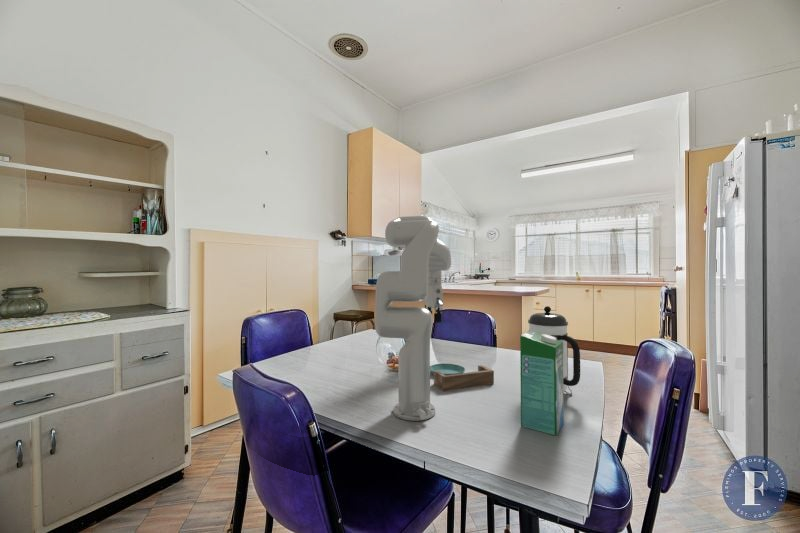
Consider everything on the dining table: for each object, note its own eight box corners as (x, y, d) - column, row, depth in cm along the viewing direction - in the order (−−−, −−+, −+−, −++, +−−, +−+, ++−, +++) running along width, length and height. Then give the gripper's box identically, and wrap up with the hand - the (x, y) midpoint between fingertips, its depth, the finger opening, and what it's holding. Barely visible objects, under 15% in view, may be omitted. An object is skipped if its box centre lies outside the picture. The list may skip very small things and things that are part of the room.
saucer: (472, 376, 134) (472, 370, 134) (443, 383, 126) (443, 376, 126) (450, 367, 146) (450, 361, 146) (422, 372, 139) (422, 366, 139)
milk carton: (556, 436, 85) (555, 338, 85) (520, 426, 91) (520, 334, 91) (563, 423, 92) (563, 333, 93) (530, 414, 98) (529, 329, 98)
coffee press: (522, 396, 112) (521, 307, 112) (528, 382, 126) (527, 303, 126) (580, 406, 104) (579, 310, 104) (579, 389, 118) (579, 305, 118)
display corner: (493, 384, 124) (493, 370, 124) (444, 391, 117) (443, 377, 117) (481, 377, 132) (481, 364, 132) (433, 384, 124) (433, 370, 124)
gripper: (449, 282, 142) (450, 323, 141) (431, 281, 158) (432, 317, 158) (434, 282, 139) (434, 324, 139) (417, 281, 155) (417, 318, 155)
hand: (433, 320), depth 148 cm, fingers open, 8 cm apart
